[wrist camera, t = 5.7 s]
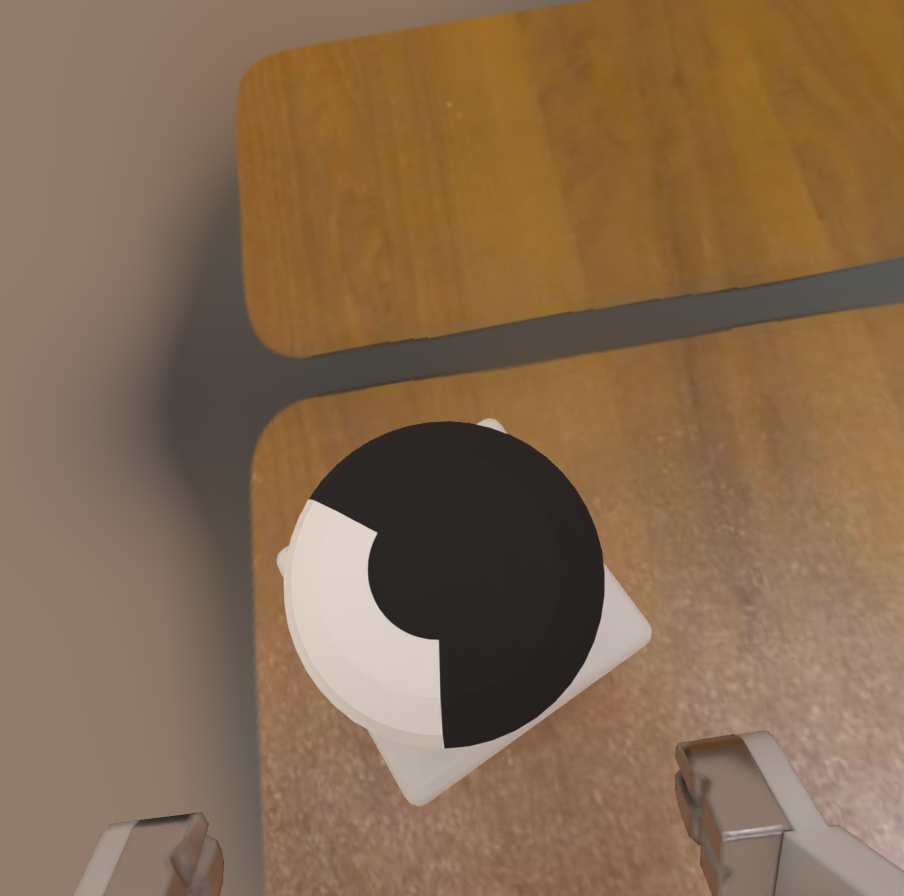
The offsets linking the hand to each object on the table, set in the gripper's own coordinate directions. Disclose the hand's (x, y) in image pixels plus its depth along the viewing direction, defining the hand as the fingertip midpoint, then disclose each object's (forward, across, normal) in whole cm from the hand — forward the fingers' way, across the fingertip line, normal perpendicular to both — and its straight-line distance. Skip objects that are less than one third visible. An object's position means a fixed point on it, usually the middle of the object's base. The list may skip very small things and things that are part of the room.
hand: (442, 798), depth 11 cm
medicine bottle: (+11, -1, +5) cm, 12 cm away
